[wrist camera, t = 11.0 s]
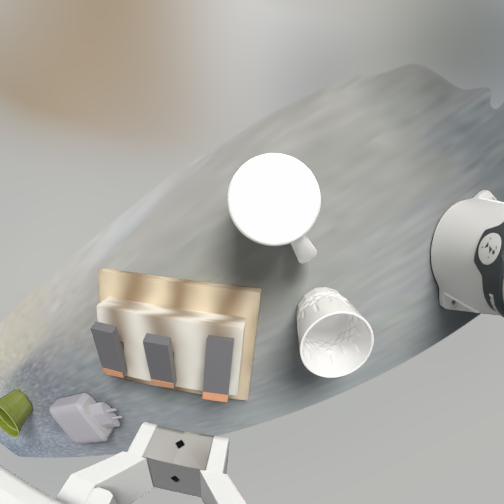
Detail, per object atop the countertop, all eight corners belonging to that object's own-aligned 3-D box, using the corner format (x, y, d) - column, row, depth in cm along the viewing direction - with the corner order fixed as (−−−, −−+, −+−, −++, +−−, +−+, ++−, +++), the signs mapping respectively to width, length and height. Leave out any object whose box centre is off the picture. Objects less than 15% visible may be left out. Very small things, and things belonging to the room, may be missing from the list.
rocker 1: (116, 326, 33) (111, 333, 31) (127, 370, 36) (123, 378, 35) (95, 321, 33) (90, 328, 32) (108, 366, 36) (104, 373, 35)
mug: (289, 135, 25) (357, 251, 27) (282, 150, 35) (332, 235, 37) (209, 185, 26) (280, 297, 28) (224, 186, 36) (276, 269, 38)
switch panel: (260, 288, 39) (260, 304, 33) (248, 394, 42) (245, 418, 36) (103, 268, 39) (82, 279, 33) (111, 369, 42) (96, 388, 37)
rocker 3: (234, 338, 34) (233, 342, 33) (228, 397, 34) (227, 403, 33) (208, 334, 34) (206, 338, 33) (204, 394, 34) (202, 399, 33)
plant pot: (7, 375, 45) (-16, 394, 37) (37, 397, 46) (15, 419, 37) (10, 401, 47) (-9, 420, 39) (39, 423, 47) (21, 444, 39)
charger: (138, 423, 45) (86, 431, 47) (108, 384, 43) (59, 397, 45) (130, 440, 40) (77, 445, 42) (97, 400, 39) (47, 410, 40)
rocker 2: (171, 337, 33) (167, 346, 31) (176, 380, 36) (174, 389, 35) (146, 332, 33) (142, 341, 31) (155, 376, 36) (151, 384, 35)
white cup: (327, 346, 40) (343, 387, 30) (280, 320, 39) (284, 359, 30) (361, 300, 39) (388, 333, 29) (314, 271, 38) (330, 297, 28)
